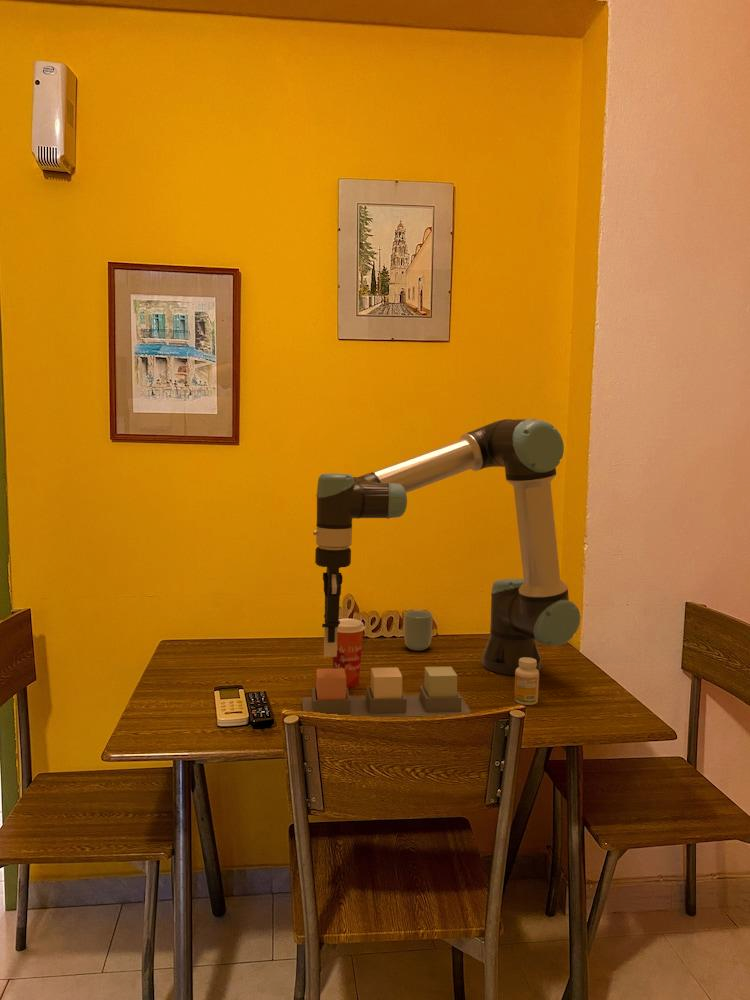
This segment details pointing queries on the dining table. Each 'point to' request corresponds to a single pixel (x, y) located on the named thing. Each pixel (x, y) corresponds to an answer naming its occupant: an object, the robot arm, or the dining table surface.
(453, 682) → the key sage
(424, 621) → the cup
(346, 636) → the coffee cup
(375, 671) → the key cream
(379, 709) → the grey socket tray
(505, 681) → the dining table surface
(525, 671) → the supplement bottle
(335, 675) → the key terracotta
